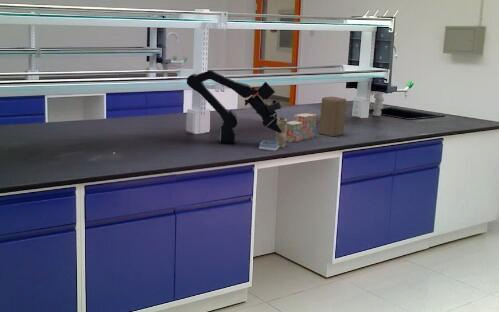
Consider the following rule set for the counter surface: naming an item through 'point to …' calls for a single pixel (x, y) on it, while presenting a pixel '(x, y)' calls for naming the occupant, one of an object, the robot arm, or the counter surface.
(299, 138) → the stack of blocks
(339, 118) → the block
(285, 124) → the maple pillar block
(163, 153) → the counter surface
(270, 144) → the blue square tray
